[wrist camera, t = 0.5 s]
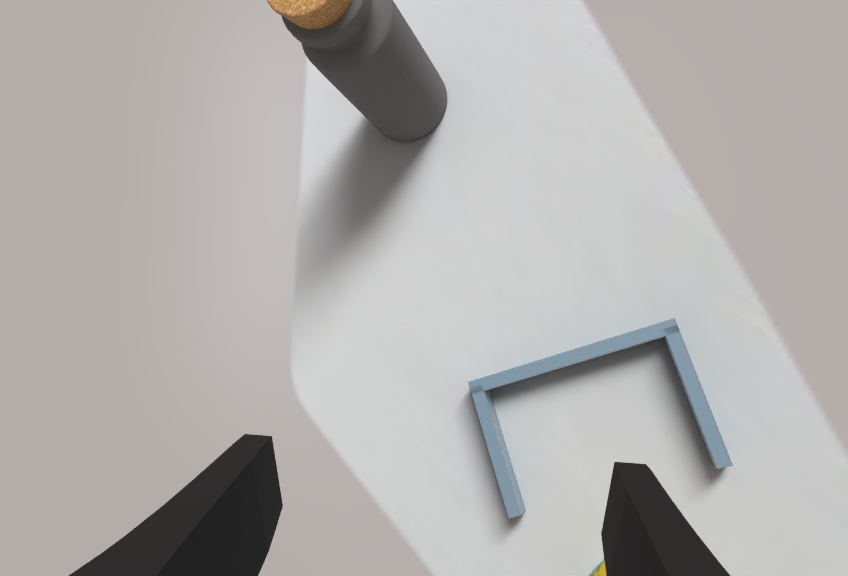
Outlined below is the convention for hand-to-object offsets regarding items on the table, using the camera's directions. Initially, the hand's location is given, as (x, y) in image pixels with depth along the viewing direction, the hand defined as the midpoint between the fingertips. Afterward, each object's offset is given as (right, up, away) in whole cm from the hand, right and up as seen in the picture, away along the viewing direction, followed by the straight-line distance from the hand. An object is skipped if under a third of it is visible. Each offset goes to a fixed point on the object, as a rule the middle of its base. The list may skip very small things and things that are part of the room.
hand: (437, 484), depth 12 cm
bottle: (-1, +18, +30) cm, 35 cm away
